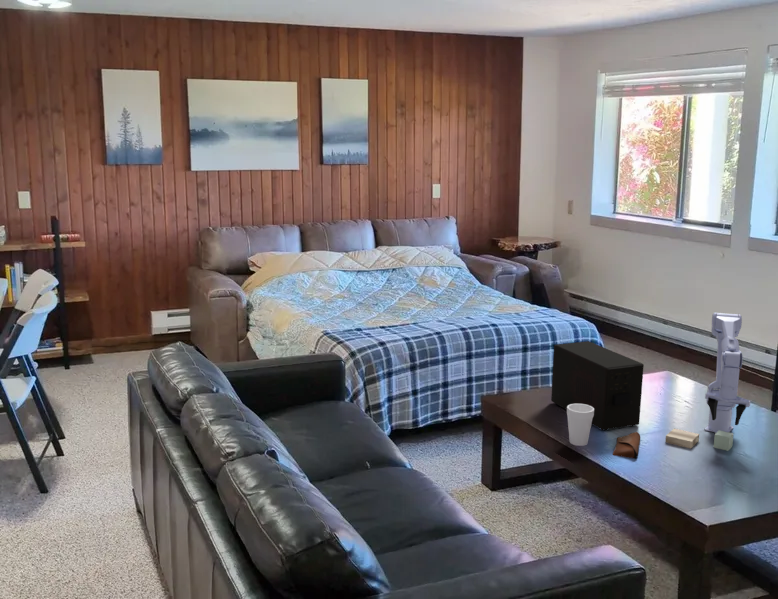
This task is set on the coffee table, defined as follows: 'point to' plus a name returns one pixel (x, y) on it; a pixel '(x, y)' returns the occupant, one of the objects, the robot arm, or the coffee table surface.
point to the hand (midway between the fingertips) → (725, 421)
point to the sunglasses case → (627, 446)
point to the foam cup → (579, 423)
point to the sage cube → (723, 440)
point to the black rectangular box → (598, 383)
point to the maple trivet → (682, 438)
